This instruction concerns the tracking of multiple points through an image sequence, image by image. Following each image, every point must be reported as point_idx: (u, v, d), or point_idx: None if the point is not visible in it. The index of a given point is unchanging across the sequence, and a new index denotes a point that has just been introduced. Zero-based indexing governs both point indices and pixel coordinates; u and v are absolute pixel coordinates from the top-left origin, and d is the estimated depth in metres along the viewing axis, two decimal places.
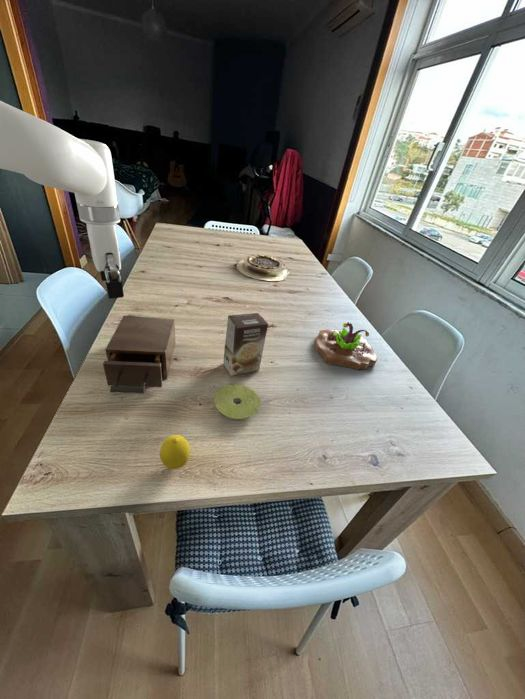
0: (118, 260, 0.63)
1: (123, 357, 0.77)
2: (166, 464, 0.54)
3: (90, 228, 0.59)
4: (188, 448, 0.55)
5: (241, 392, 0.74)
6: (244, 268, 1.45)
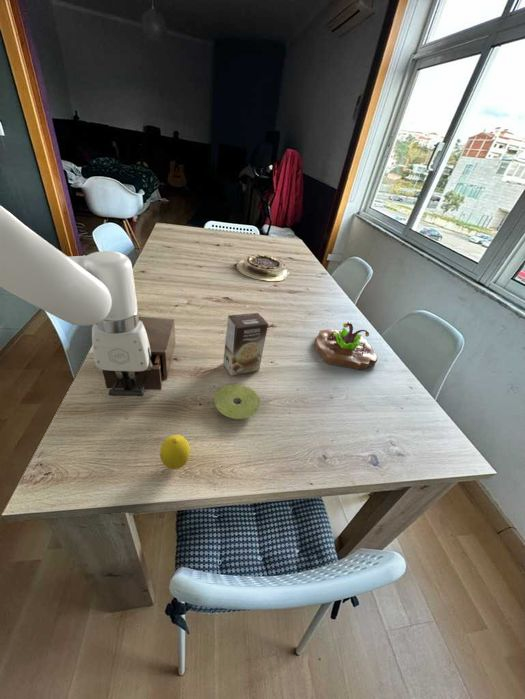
0: None
1: None
2: (166, 464, 0.54)
3: (134, 336, 0.56)
4: (188, 448, 0.55)
5: (241, 392, 0.74)
6: (244, 268, 1.45)
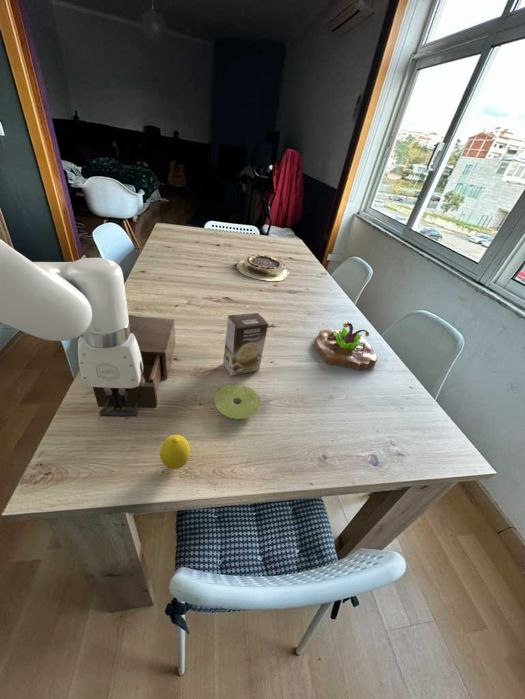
0: (142, 364, 0.58)
1: None
2: (166, 464, 0.54)
3: (124, 350, 0.51)
4: (188, 448, 0.55)
5: (241, 392, 0.74)
6: (244, 268, 1.45)
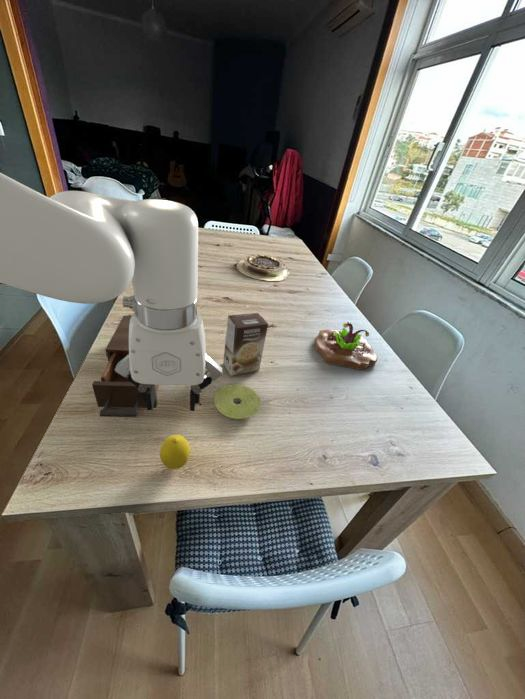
0: None
1: (115, 375, 0.71)
2: (166, 464, 0.54)
3: (192, 334, 0.37)
4: (188, 448, 0.55)
5: (241, 392, 0.74)
6: (244, 268, 1.45)
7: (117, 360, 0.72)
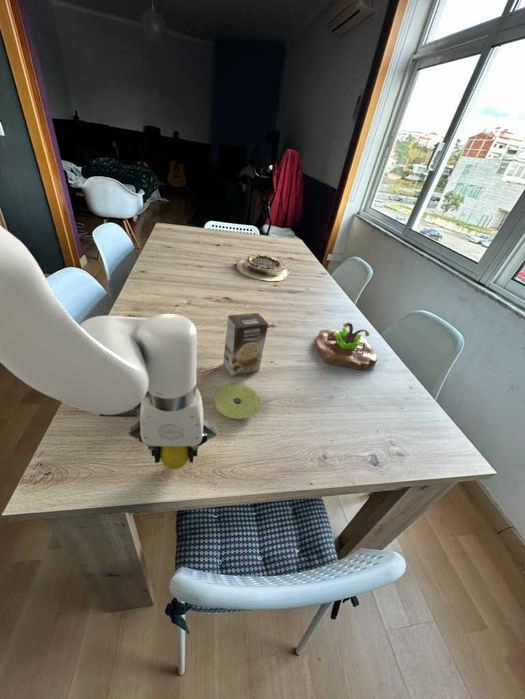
0: None
1: None
2: (166, 464, 0.54)
3: (192, 411, 0.46)
4: (188, 448, 0.55)
5: (241, 392, 0.74)
6: (244, 268, 1.45)
7: None
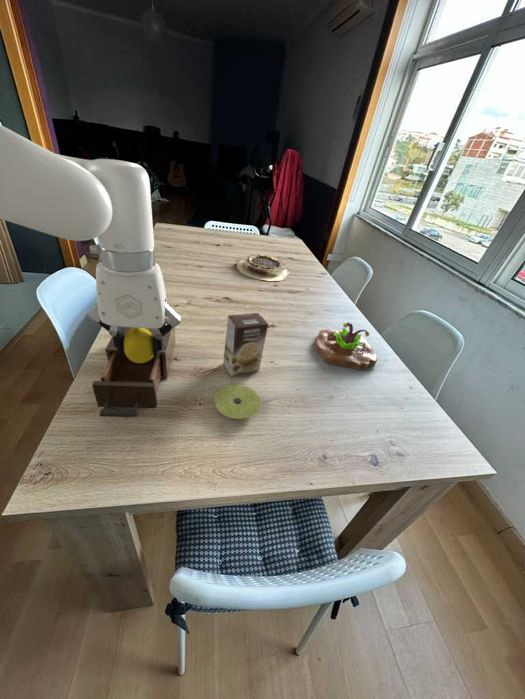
0: None
1: (115, 375, 0.71)
2: (129, 354, 0.52)
3: (149, 279, 0.44)
4: None
5: (241, 392, 0.74)
6: (244, 268, 1.45)
7: (117, 360, 0.72)
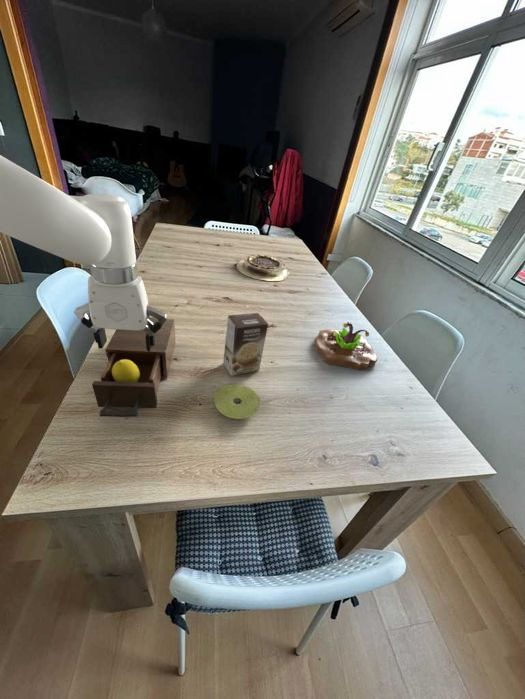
0: None
1: None
2: None
3: (132, 289, 0.53)
4: (134, 368, 0.66)
5: (241, 392, 0.74)
6: (244, 268, 1.45)
7: (117, 360, 0.72)
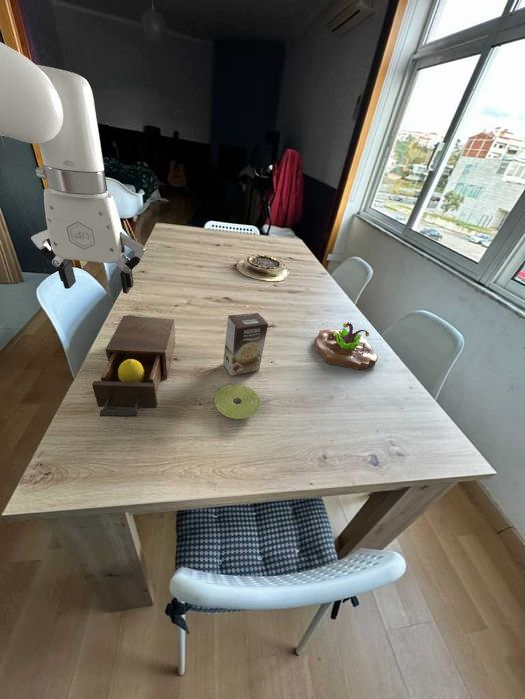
0: None
1: (115, 375, 0.71)
2: (122, 381, 0.66)
3: (99, 204, 0.43)
4: (141, 369, 0.67)
5: (241, 392, 0.74)
6: (244, 268, 1.45)
7: (117, 360, 0.72)
